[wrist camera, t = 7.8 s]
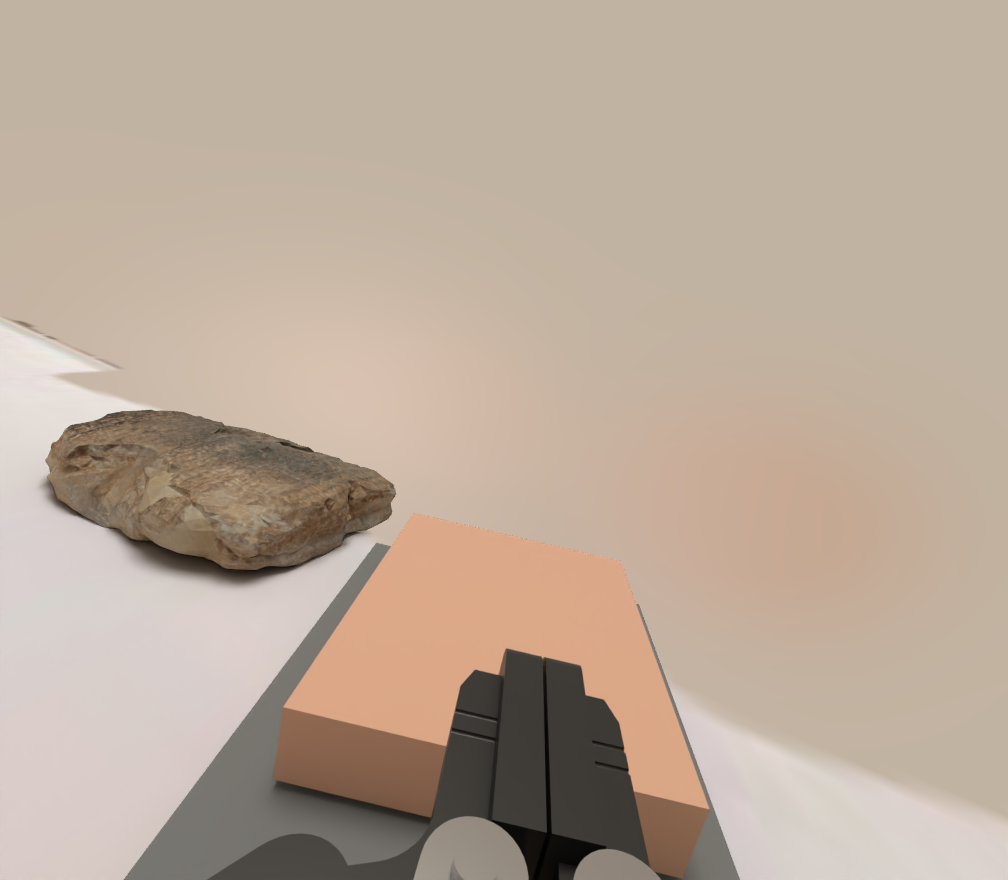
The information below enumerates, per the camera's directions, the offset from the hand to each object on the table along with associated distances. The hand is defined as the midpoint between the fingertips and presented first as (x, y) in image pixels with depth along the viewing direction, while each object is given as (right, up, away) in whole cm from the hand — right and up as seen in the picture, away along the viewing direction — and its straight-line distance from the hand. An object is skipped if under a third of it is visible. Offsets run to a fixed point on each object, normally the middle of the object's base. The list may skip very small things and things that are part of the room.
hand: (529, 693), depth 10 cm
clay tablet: (-19, +1, +22) cm, 30 cm away
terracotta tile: (-1, -5, +4) cm, 6 cm away
